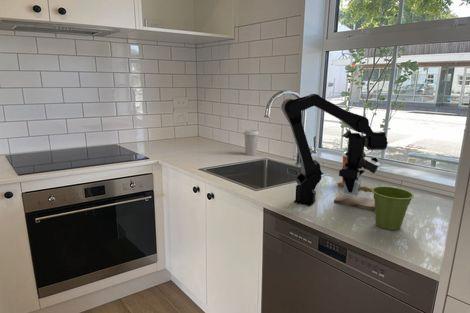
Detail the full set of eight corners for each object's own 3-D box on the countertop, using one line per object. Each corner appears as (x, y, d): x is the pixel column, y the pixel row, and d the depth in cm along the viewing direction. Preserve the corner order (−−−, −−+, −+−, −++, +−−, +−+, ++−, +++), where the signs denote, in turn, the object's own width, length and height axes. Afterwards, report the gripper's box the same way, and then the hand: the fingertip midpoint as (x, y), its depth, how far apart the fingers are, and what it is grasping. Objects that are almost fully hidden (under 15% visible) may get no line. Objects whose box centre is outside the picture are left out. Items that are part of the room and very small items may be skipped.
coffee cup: (258, 156, 203) (259, 131, 200) (243, 155, 203) (243, 131, 200) (258, 152, 212) (258, 129, 209) (243, 152, 212) (243, 129, 209)
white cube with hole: (343, 193, 124) (344, 181, 123) (346, 190, 128) (347, 178, 127) (357, 195, 122) (358, 183, 121) (360, 192, 126) (361, 180, 125)
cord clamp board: (333, 202, 125) (335, 183, 123) (340, 196, 132) (341, 177, 130) (385, 212, 115) (388, 192, 114) (389, 205, 123) (391, 185, 121)
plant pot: (396, 237, 97) (401, 201, 94) (360, 223, 106) (364, 190, 104) (416, 227, 104) (421, 193, 101) (381, 215, 113) (384, 183, 111)
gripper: (374, 157, 109) (369, 202, 113) (383, 148, 125) (379, 187, 128) (340, 153, 115) (336, 195, 119) (352, 145, 131) (349, 183, 134)
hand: (351, 190), depth 125 cm, fingers closed on white cube with hole, 5 cm apart
